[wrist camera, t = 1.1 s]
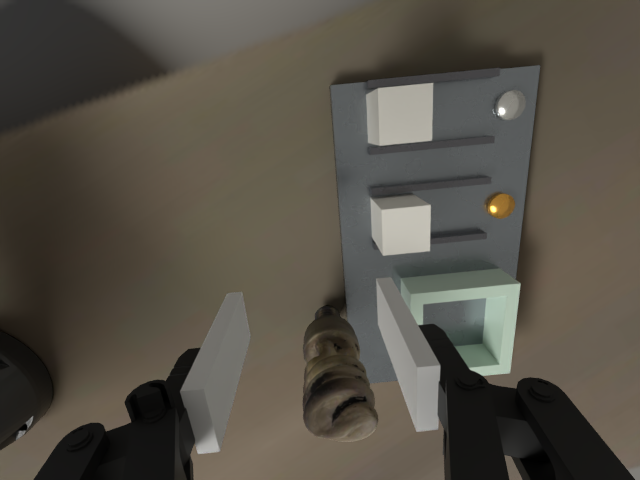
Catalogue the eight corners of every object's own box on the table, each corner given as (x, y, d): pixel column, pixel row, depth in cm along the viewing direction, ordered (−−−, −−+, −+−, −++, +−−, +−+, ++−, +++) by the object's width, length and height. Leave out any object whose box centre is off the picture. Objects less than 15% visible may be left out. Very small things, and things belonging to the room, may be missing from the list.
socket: (401, 360, 38) (410, 383, 34) (400, 278, 34) (410, 294, 31) (492, 351, 38) (509, 373, 34) (500, 268, 34) (520, 283, 31)
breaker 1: (368, 142, 30) (379, 145, 25) (365, 94, 28) (377, 88, 24) (412, 138, 30) (432, 140, 25) (412, 90, 28) (433, 82, 24)
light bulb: (363, 309, 37) (399, 424, 22) (333, 343, 38) (349, 473, 24) (322, 283, 35) (333, 387, 21) (293, 319, 37) (284, 440, 22)
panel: (351, 377, 40) (353, 391, 38) (329, 86, 29) (331, 83, 27) (499, 362, 40) (510, 375, 38) (531, 67, 29) (548, 62, 27)
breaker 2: (372, 237, 33) (382, 255, 28) (370, 197, 31) (381, 209, 27) (412, 233, 33) (429, 251, 28) (412, 193, 31) (430, 205, 27)
